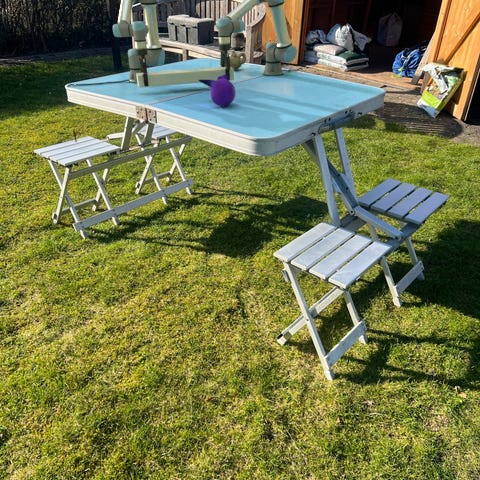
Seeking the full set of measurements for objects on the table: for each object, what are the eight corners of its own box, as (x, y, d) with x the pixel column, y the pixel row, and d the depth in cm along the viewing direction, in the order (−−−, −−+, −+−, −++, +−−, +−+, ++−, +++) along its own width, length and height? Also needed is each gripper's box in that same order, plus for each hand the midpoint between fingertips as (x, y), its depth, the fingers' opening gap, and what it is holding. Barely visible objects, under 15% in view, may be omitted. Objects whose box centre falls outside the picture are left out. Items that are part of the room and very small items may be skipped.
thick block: (139, 87, 293) (137, 75, 289) (137, 84, 301) (136, 73, 297) (234, 80, 309) (234, 68, 305) (230, 77, 317) (229, 66, 313)
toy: (221, 97, 287) (235, 112, 266) (195, 92, 280) (207, 107, 259) (227, 72, 279) (242, 85, 258) (201, 67, 272) (213, 80, 251)
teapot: (226, 72, 363) (226, 52, 355) (220, 70, 372) (219, 50, 364) (249, 69, 372) (249, 50, 365) (242, 67, 381) (241, 48, 373)
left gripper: (149, 50, 278) (153, 87, 289) (144, 45, 297) (149, 80, 308) (137, 51, 276) (141, 88, 288) (133, 46, 295) (137, 81, 306)
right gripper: (234, 45, 292) (235, 80, 303) (225, 41, 311) (226, 75, 322) (223, 46, 290) (224, 81, 301) (214, 42, 309) (216, 75, 320)
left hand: (145, 84), depth 298 cm, fingers closed on thick block, 10 cm apart
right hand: (225, 78), depth 312 cm, fingers closed on thick block, 10 cm apart
